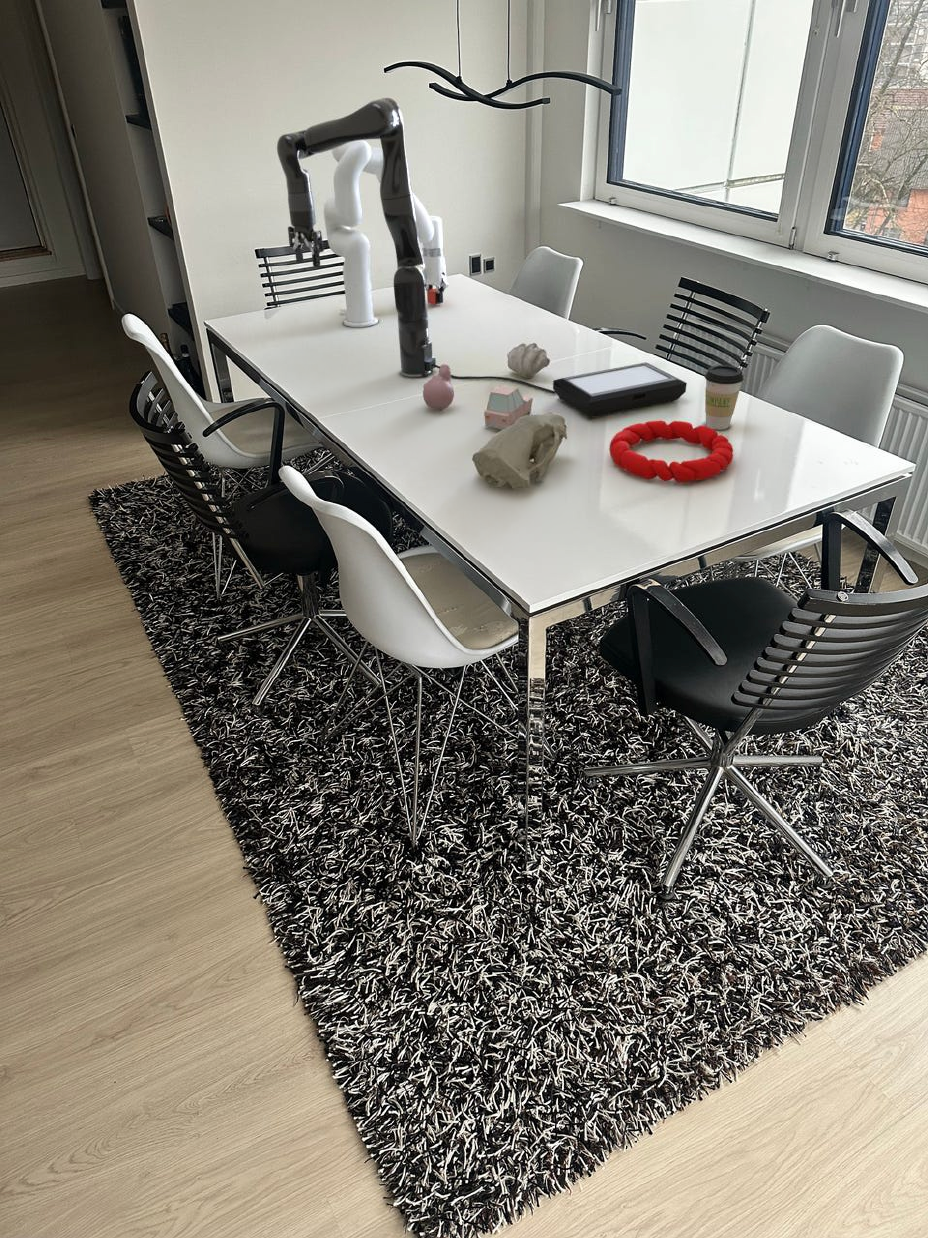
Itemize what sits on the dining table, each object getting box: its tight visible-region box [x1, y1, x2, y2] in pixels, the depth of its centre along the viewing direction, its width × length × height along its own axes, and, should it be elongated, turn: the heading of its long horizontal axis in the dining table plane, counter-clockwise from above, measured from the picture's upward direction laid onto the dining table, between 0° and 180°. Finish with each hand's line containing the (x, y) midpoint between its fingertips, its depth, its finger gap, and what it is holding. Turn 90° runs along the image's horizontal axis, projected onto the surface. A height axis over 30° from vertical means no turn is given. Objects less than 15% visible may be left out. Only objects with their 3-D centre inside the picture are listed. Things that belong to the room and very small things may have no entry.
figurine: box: [422, 363, 455, 411], centre depth 252 cm, size 9×11×12 cm
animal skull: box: [471, 411, 568, 490], centre depth 215 cm, size 17×25×20 cm
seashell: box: [506, 342, 551, 379], centre depth 273 cm, size 10×15×10 cm
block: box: [426, 287, 437, 306], centre depth 343 cm, size 4×4×5 cm
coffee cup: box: [704, 364, 745, 431], centre depth 235 cm, size 10×10×15 cm
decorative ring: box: [609, 419, 734, 483], centre depth 221 cm, size 7×30×30 cm
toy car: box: [483, 385, 534, 430], centre depth 242 cm, size 9×15×10 cm, turn 149°
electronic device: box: [552, 362, 688, 419], centre depth 255 cm, size 32×6×20 cm
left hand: (435, 301), depth 344 cm, fingers closed on block, 4 cm apart
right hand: (308, 264), depth 277 cm, fingers open, 8 cm apart
